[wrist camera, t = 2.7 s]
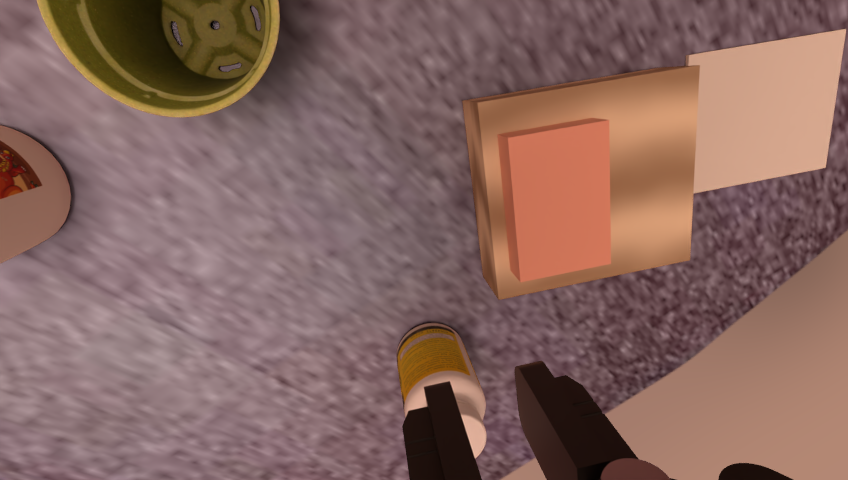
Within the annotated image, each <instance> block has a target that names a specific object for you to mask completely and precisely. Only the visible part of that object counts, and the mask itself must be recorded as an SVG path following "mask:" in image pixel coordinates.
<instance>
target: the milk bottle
mask: <svg viewBox="0 0 848 480" xmlns="http://www.w3.org/2000/svg"><path fill="white" fill-rule="evenodd" d="M70 201H71V194H70V185H69V183H68V180H67V177H66V174H65V172H64V171H63V169H62V167H61V165H60V164H59V162H58V161H57V160H56V159H55V158H54V156H53V155H52V154H51V153H50V152H49V151H48V150H47V149H45V148H44V147H43V146H42V145H41V144H40V143H38V142H36V141H35V140H33V139H32V138H30V137H29V136H27V135H25V134H23V133H21V132H19V131H16V130H14V129H11V128H8V127H5V126H1V125H0V263H2V262H4V261H6V260H8V259H10V258H12V257H14V256H16V255H18V254H20V253H22V252H24V251H26V250H28V249H30V248H32V247H34V246H36V245H38V244H40V243H41V242H43V241H45V240H47V239H48V238H50V237H51V236H53V235H54V234H55V233H56V232H57V231H58V230H59V229H60V228H61V226H62V225H63V223H64V222H65V220H66V218H67V215H68V212H69V209H70Z"/></svg>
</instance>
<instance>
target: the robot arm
mask: <svg viewBox="0 0 848 480" xmlns="http://www.w3.org/2000/svg"><path fill="white" fill-rule="evenodd" d="M515 381H516V391H517V401H518V411H519V417H520V421H521V425H522V428H523V431H524V434H525V436H526V438H527V440H528V442H529V444H530V446H531V448H532V450H533V452H534V454H535V456H536V459H537V460H538V463H539V465H540V467H541V469H542V471H543V473H544V475H545V477H546V479H547V480H675V479H671V478H669V477H668V476H667V475H666V474H665V473H664V472H663V471H662V470H661V469H659V468H658V467H656V466H655V465H653V464H651V463H648V462H646V461H643V460H639V459H638V458H637V457H636V455H635V454H634V453H633V451H632V450H631V449H630V447H629V446H628V445H627V444H626V442H625V441H624V440H623V438H622V437H621V436H620V434H619V433H618V432H617V430H616V429H615V428H614V426H613V425H612V424H611V422H610V421H609V420H608V418H607V417H606V416H605V415H604V414H602V411H601V409H600V408H599V407H598V405H597V404H596V403H595V402H594V401H593V399H592V397H591V396H590V395H589V393H588V392H587V391H586V390H585V388H584V387H583V386H582V385H581V384H579V383H578V382H576V381H574V380H573V379H571V378H570V377H568V376H566V375H565V376H561V377H556V378H554V376H553V375H552V374H551V372H550V371H549V369H548V368H547V366H546V365H545V363H544V362H543V361H538V362H534V363H529V364H525V365H520V366H516V367H515ZM424 392H425V397H426V403H427V407H423V408H418V409H414V410H409V411H408V413H407V416H406V418H405V421H404V424H403V426H402V427H403V434H404V441H405V448H406V455H407V462H408V470H409V477H410V480H482V479H481V476H480V473H479V470H478V466H477V463H476V460H475V457H474V454H473V451H472V448H471V445H470V442H469V439H468V435H467V432H466V429H465V426H464V423H463V420H462V417H461V414H460V411H459V408H458V404H457V401H456V398H455V395H454V392H453V389H452V386H451V383H450V381H448V382H443V383H438V384H434V385H429V386H425V387H424ZM719 480H793V479H791V478H789V477H786V476H784V475H782V474H780V473H778V472H776V471H774V470H771V469H769V468H766V467H763V466H760V465H755V464H749V463H738V464H733V465H730V466H727V467H726V468H724V469H723V470H722V471H721V473H720V475H719Z"/></svg>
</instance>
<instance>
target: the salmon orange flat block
mask: <svg viewBox="0 0 848 480" xmlns="http://www.w3.org/2000/svg"><path fill="white" fill-rule="evenodd" d="M497 136H498V146H499V157H500V167H501V178H502V188H503V199H504V209H505V219H506V230H507V240H508V251H509V261H510V270H511V272H512V273H513V274H514V275H515V276H516V278H517V279H518V280H519V281H520V282H525V281H530V280H535V279H540V278H545V277H550V276H554V275H559V274H564V273H569V272H574V271H579V270H584V269H588V268H593V267H598V266H603V265H608V264H611V221H610V145H609V120H606V119H598V118H587V119H582V120H576V121H570V122H565V123H559V124H553V125H548V126H542V127H536V128H531V129H525V130H519V131H514V132H508V133H502V134H497Z"/></svg>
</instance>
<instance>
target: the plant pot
mask: <svg viewBox="0 0 848 480" xmlns="http://www.w3.org/2000/svg"><path fill="white" fill-rule="evenodd" d="M37 3H38V6H39V9H40V12H41V15H42V17H43V19H44V22H45V24H46V26H47V28H48V29H49V31H50V33H51V35H52V37H53V39H54V40H55V42H56V44H57V45H58V47H59V48H60V50H61V51H62V53H63V54H64V55H65V56H66V58H67V59H68V60H69V61H70V62H71V63H72V64H73V65H74V67H75V68H76V69H77V70H78V71H79V72H80V73H81V74H82V75H83V76H84V77H85V78H86V79H87V80H88V81H90V82H91V83H92V84H93V85H95V86H96V87H97V88H99V89H100V90H101V91H103V92H104V93H106V94H107V95H109V96H110V97H112V98H114V99H116V100H118V101H119V102H121V103H123V104H125V105H128V106H130V107H132V108H135V109H138V110H141V111H144V112H147V113H151V114H155V115H160V116H167V117H194V116H200V115H205V114H209V113H213V112H216V111H219V110H221V109H223V108H225V107H228V106H229V105H231V104H233V103H235V102H237V101H238V100H239V99H241V98H242V97H243V96H245V95H246V94H247V93H248V92H249V91H250V90H252V89H253V87H254V86H255V85H256V84H257V83H258V82H259V80H260V79H261V78H262V76H263V75H264V73H265V72H266V70H267V68H268V66H269V64H270V62H271V60H272V57H273V55H274V52H275V49H276V45H277V41H278V35H279V26H280V10H279V0H37ZM251 5H252V6H254V7H255V8H256V9H257V10H258V13H259V18H260V21H261V29H260V31H257V30H256V27H255V21H254V17H253V14H252V12H251V10H250V6H251ZM172 21H175V22H176V23H177V28H178V32H179V35H180V38H181V42H182V43H183V46H181V45H179V44H178V43H177V41H176V40H175V38H174V36H173V34H172V31H171V22H172ZM212 21H218V23H219V25H220V26H219V29H216V30H214V29H212V28H211V26H210V23H211V22H212ZM238 62H239V63H241V64H242V65H241V67H240V68H239V69H232V70H231V71H229V72H221V71H220V70H219V69H218V68H219V66H227V65H232V64H236V63H238Z"/></svg>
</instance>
